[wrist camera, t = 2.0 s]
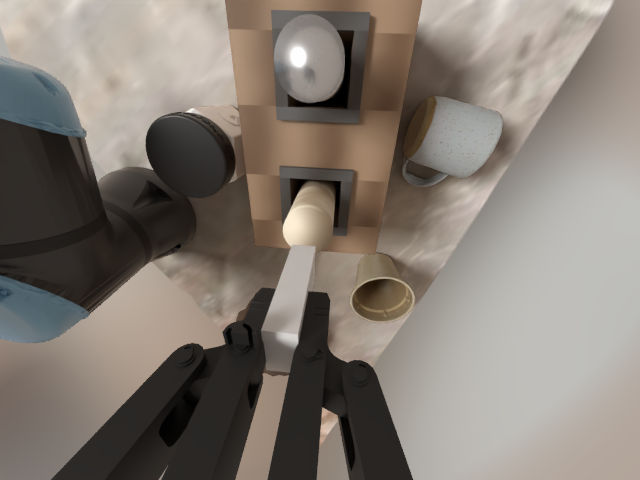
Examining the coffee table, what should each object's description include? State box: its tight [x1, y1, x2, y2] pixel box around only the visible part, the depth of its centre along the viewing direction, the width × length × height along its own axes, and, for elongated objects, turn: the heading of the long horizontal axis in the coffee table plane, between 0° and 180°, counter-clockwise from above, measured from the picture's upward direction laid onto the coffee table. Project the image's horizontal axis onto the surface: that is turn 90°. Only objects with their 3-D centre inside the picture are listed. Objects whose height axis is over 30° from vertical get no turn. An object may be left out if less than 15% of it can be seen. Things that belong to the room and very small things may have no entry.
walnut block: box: [225, 0, 422, 255], centre depth 27 cm, size 14×23×13 cm, turn 178°
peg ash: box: [283, 179, 336, 253], centre depth 24 cm, size 4×4×11 cm
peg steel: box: [274, 14, 345, 103], centre depth 18 cm, size 4×4×11 cm
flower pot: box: [350, 253, 415, 323], centre depth 39 cm, size 9×9×9 cm
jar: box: [146, 105, 246, 198], centre depth 29 cm, size 9×8×12 cm
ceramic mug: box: [402, 96, 503, 187], centre depth 29 cm, size 11×8×8 cm
